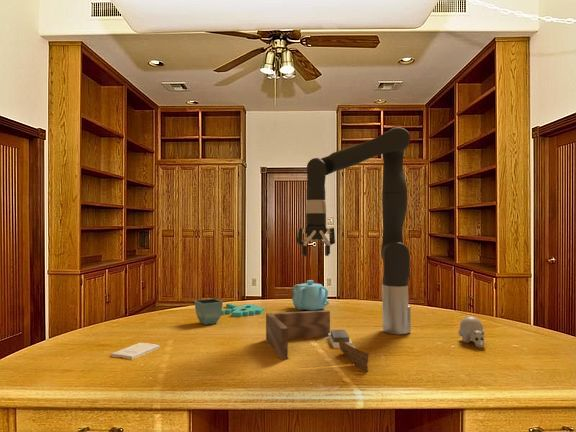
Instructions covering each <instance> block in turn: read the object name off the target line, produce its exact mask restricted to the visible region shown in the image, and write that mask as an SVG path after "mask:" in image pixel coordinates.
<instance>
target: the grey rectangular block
mask: <svg viewBox="0 0 576 432" xmlns="http://www.w3.org/2000/svg"><path fill="white" fill-rule="evenodd" d="M330 333H331V336H332V339H333V342H339V340H341V341H344V342H349V339H350V336H349V333H348V332H347V330H346V329H330Z"/></svg>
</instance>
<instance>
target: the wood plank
mask: <svg viewBox="0 0 576 432" xmlns="http://www.w3.org/2000/svg"><path fill="white" fill-rule="evenodd" d="M339 345H340V348H341V349H340V351H341V352H342V353H343V354H344V356H345V358H346V359H347V360H349V361H350V362H351V363H352V365H354V366H356V367H358V368H360V369H361V370H362V371H365V372H366V373H368V372H369V369H368V366H369V365H368V363H369V355H370V353H369V352H366V351H363V350H360V349H358V348H357V347H356V348H353V347H351V346H349V345H347V344H346V343H345V342H344V341H341V340H339Z"/></svg>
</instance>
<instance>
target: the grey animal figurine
mask: <svg viewBox="0 0 576 432" xmlns="http://www.w3.org/2000/svg"><path fill="white" fill-rule="evenodd" d="M457 332H458V336H459V337H461V340H462V342H463V343H466V344H469V343H470V342H471V341H472V342H473V343H474V345H475V346H476V348H477V349H482V348H484V346H485V331H484V325H483V322H482V321H481V320H480V319H478V318H477V317H475V316H471V315H470V316H465V317H463V319H462V320H460V324H459V330H458V331H457Z"/></svg>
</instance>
